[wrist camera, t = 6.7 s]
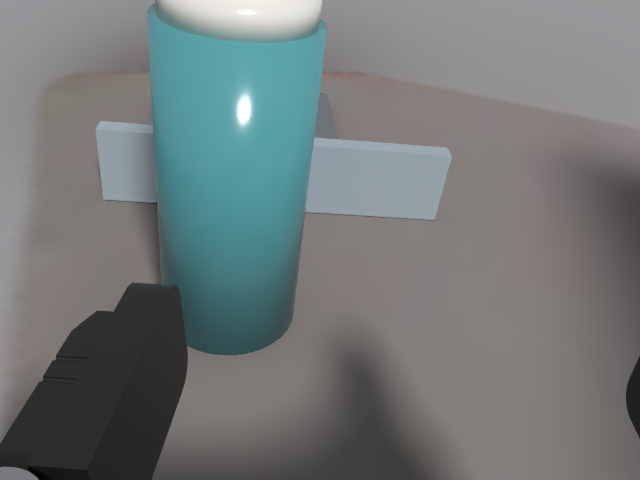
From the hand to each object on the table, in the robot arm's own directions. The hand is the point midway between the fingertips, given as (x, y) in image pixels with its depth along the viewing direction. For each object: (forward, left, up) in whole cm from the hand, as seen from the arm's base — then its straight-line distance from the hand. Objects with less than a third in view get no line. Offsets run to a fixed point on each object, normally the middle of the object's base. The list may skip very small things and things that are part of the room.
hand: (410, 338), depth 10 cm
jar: (+4, -12, -10) cm, 16 cm away
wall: (+2, -20, -10) cm, 23 cm away
